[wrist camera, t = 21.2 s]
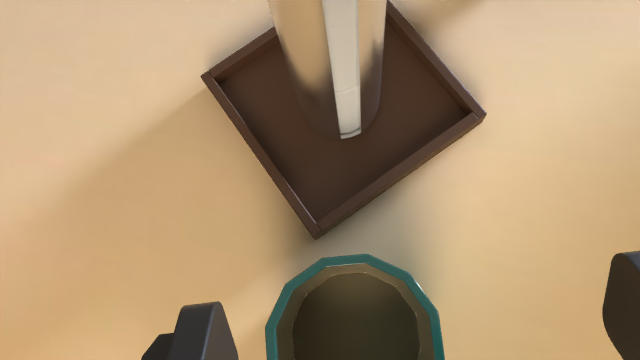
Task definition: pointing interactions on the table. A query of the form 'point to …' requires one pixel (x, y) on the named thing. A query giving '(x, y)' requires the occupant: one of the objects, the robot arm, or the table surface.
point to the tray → (353, 153)
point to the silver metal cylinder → (333, 60)
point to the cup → (305, 282)
